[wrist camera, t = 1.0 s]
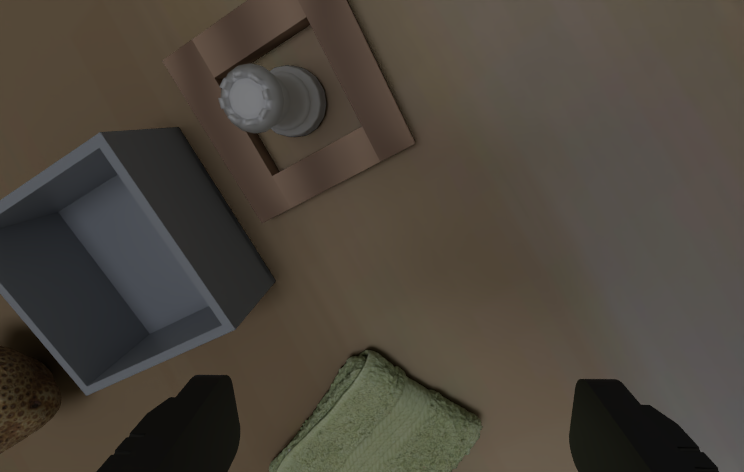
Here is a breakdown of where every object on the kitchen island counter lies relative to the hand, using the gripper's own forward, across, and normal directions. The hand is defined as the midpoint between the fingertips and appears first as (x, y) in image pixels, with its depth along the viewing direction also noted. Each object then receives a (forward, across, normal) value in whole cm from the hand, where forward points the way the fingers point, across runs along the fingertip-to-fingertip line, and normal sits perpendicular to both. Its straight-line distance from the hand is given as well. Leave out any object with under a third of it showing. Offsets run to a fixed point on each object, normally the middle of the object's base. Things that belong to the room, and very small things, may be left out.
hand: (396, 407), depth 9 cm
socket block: (+19, +7, -8) cm, 22 cm away
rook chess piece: (+19, +7, -8) cm, 22 cm away
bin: (+20, +19, +2) cm, 27 cm away
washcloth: (+20, +3, +21) cm, 29 cm away
